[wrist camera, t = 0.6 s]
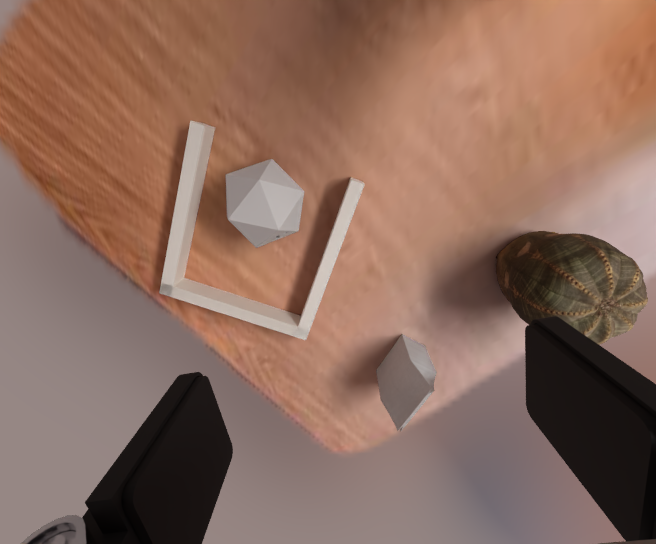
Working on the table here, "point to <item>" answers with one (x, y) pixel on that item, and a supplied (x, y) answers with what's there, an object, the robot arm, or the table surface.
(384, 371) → the grey faceted angular block
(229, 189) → the die
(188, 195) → the bay
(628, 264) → the shell
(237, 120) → the table surface
